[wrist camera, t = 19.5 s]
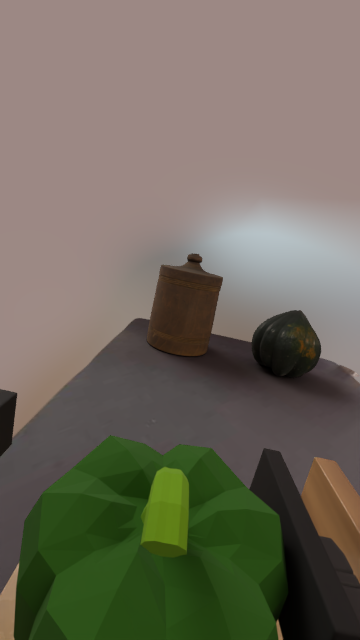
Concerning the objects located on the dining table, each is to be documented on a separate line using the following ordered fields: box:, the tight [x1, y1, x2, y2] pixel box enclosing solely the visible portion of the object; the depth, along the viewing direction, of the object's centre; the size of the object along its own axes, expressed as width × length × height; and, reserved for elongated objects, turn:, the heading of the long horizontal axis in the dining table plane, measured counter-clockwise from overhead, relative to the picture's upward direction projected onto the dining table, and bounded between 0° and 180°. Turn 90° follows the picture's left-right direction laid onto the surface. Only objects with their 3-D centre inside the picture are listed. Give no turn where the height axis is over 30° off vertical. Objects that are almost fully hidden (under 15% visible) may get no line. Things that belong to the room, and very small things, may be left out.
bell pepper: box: [14, 435, 289, 640], centre depth 9 cm, size 8×8×10 cm
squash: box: [252, 310, 321, 377], centre depth 65 cm, size 14×15×15 cm
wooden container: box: [147, 254, 223, 356], centre depth 67 cm, size 15×15×22 cm
